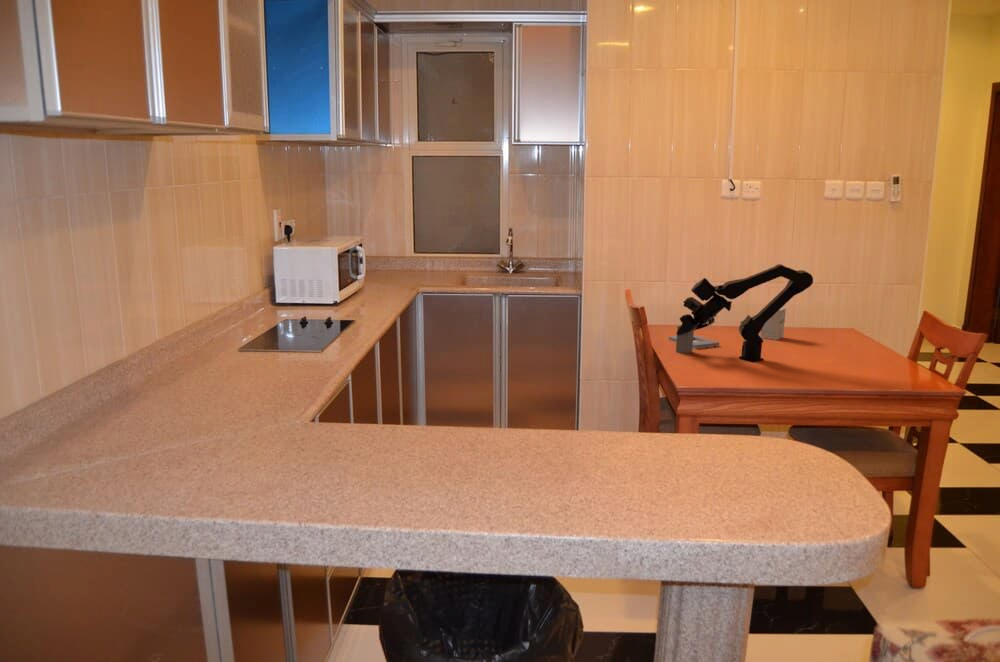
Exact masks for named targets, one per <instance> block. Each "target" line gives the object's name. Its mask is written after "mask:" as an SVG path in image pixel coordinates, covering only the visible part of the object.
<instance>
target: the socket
mask: <svg viewBox="0 0 1000 662" xmlns="http://www.w3.org/2000/svg"><path fill="white" fill-rule="evenodd" d="M668 341H670V342H673V343H675V344H676V342H677V335H673V336H668ZM714 346H716V347H720V342H718V341H716V340H712V339H709V338H705V337H702V336H699V335H695V334H693V347H692V349H695V350H697V349H706V347H708V348H715V347H714Z"/></svg>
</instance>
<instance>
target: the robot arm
mask: <svg viewBox="0 0 1000 662" xmlns="http://www.w3.org/2000/svg"><path fill="white" fill-rule="evenodd" d="M778 278H784V279H786V280H788V282H787V283H786V285H785V287H784V288H783V289H782V290H781V291H779V293H777V295H776V296H775V297H773V298H772V300H771V301H769V302H768V304H766V305H765V306H764V307H763V308H762V309H761V310H760V311H759V312H758V313H756V315H753V316H750V314H748V315H747V316H746V317H745V318H744V319H743V320H742V321H740V325H739V326H738V333H739V334H740V336H741V337H742V338H743V340H744V341H743V343H742V345H741V355H740V356H738V358H739V359H741V360H745V361H747V362H759V361H764V360H765V358H763V357H762V350H763V349H762V348H763V343H764V340H763V338H761V335H759V334H761V330H762V328H763V326H764V324H765V323H766V322H767V321H768V320H769V319H770V318H771V317H772V316H773V315H774V314H775V313H776V312H777V311H778V310H780V309H781V308H784V306H785V305H786V304H788V302H790V300H791V299H792V298H794V297H795V296H796V295H798V294H800V293H803V292H804V291H805V290H807V289H808V288H810V287H811V286H812V285H813V282H814V277H813V275H812V274H811V273H809V272H808V271H806V270H803V269H802V270H801V269H799V270H795V269H793V268H790V267H787V266H785V265H784V264H780V263H779V264H776V265H775V266H772V267H770V268H767V269H765V270H763V271H760V272H758V273H755V274H752V275H750V276H748V277H745V278H740V279H734V280H729V281H726V282H724V283H723V284H721V285H720V284H719V285H715V286H714V285H713V284H712V283H711V282H709V280H708V279H707V278H706V277H703V278H702V279H701V280H699V281H698V282H696V283H695V284H694V285H693V287H692V288H691V289H690V291H691V292H692V293H693V294H694V295H695V296H696V297H697V298H698V299H700V301H699V300H698V299H696V298H695V297H693V296H691V297H687V298H686V299H685V300H684V301H683V305H682V306H683V307H684V308H687V309H688V310H690V311H691V314H692V315H691V314H687V313H686V314H683V315H682V316H680V317H679V321H680V322H681V324H680V325H681V327H680V328H679V330H678V331H677V330H676V336H677V335H678V336H679V335H682V334H685V333H688V332H691V331H694V332H695V331H697V330H700V329H704V328H706V327H709V326H711V325H713V324H714V323H715V317H717V316H718V314H719V313H721V311H723V309H726V310H727V311H728V312H730V311H731V310H732V303H733V302H732V301H731V300H734V299H737V298H738V297H740V296H742V295H744V294H745V293H746V292H747V291H749V290H750V289H753V288H755V287H758V286H760V285H763V284H765V283H768V282H770V281H773V280H775V279H778ZM726 298H727V299H726ZM729 300H730V301H729ZM703 301H706V302H705V303H704V304H703V303H702V302H703Z"/></svg>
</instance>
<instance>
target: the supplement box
mask: <svg viewBox="0 0 1000 662" xmlns="http://www.w3.org/2000/svg"><path fill="white" fill-rule="evenodd" d="M786 310H787V308H786V307H782V308H781V309H780V310H778V311H777V312H776V313H775V314H774V315H773V316H772V317H771V318H770V319H769V320H768V321H767V322H766V323H765V324H764V326H763V328H762V330H761V331H760V337H761V338H762V339H766V338H767V340H772V339H774V341H779V340H781V339H783V338H784V331H785V323H786V322H785V321H786V313H787V312H786ZM782 337H783V338H782Z"/></svg>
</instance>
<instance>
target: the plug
mask: <svg viewBox="0 0 1000 662" xmlns="http://www.w3.org/2000/svg"><path fill="white" fill-rule="evenodd" d="M681 325H682V324H680V325H677V329H676V332H677V331H678V330H679V328H680V327H681ZM694 332H695V330H694V331H691V332H688V333H685V334H682V335H679V336H678V335H677V334H676V336H677V342H676V343H675V344H676V345H675V353H679V354H684V355H687V354H690V353H693V348H692V347H693V335H695V334H694Z"/></svg>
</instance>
